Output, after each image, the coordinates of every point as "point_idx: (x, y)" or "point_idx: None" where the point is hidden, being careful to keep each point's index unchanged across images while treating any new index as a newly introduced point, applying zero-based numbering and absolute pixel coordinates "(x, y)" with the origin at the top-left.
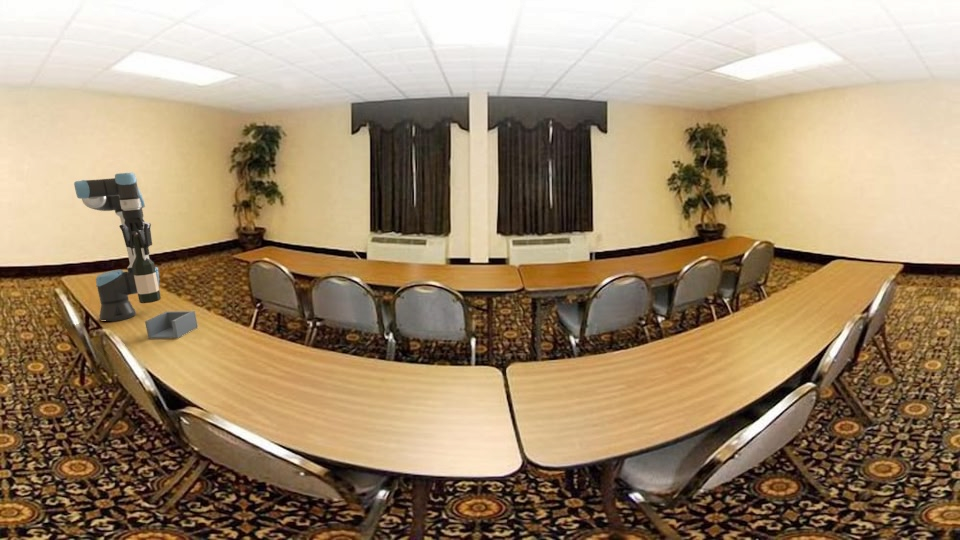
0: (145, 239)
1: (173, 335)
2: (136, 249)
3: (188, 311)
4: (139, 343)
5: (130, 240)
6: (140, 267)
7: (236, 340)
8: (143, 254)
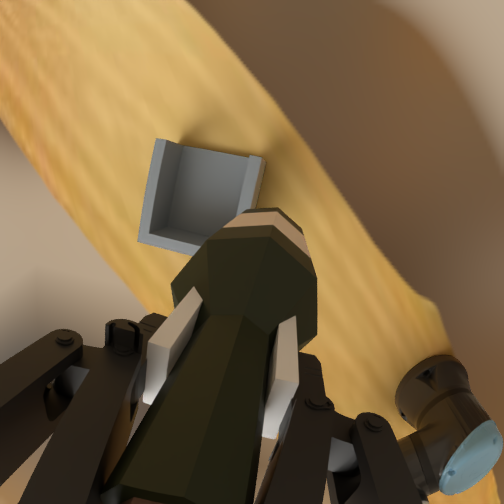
0: (22, 381)
1: (189, 154)
2: (236, 354)
3: (155, 241)
4: (275, 127)
5: (308, 476)
6: (232, 235)
7: (48, 114)
8: (178, 310)
